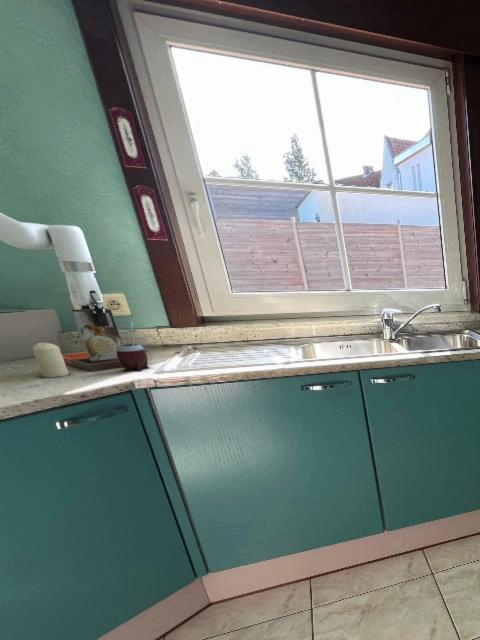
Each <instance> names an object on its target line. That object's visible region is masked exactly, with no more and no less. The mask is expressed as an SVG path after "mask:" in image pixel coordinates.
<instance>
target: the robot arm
mask: <svg viewBox="0 0 480 640" xmlns="http://www.w3.org/2000/svg"><path fill="white" fill-rule="evenodd" d="M0 242H2V243H5V244H7V245H9V246H11V247H15V248H16V249H21V250H28V251H29V250H30V251H32V250H37V251H48V250H49V251H50V250H54V252H55V255H56V259H57V260H58V263H59V266H60V269H61V273H63V274H64V276H65V280H66V284H67V288H68V291H69V294H70V298H71V301H72V303H73V304H74V305H77V306H79V309H91V310H92V312H93V314H92V316H93V319H94V322H95V325H96V326H109V323H108V320H107V317H106V314H105V310H104V308H105V307H104V305H103V304H104V299H103V295H102V292H101V289H100V287H99V284H98V281H97V279H96V276H95V275H94V274H96V273H97V272H96V269H95V265H94V262H93V259H92V256H91V253H90V249H89V247H88V244H87V241H86V237H85V235H84V232H83V230H82V229H81V228H80V227H79V226H77V225H69V224H51V225H50V224H44V223H36V222H35V223H34V222H24V221H18V220H17V219H14V218H12V217H10V216H8V215H6V214H4V213H2V212H0Z"/></svg>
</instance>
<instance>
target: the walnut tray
mask: <svg viewBox="0 0 480 640" xmlns="http://www.w3.org/2000/svg"><path fill="white" fill-rule="evenodd" d="M73 363H74V365H73V366H74V367H76V368H79V369H83V370H86V371H90V372H98V371H105V370H112V369H119V368H121V369H122V368H124V367H123V366H122V364H121V363H120V361H119V359H110V360H100V361H91V360H90V358H85V359H77V360H73Z"/></svg>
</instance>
